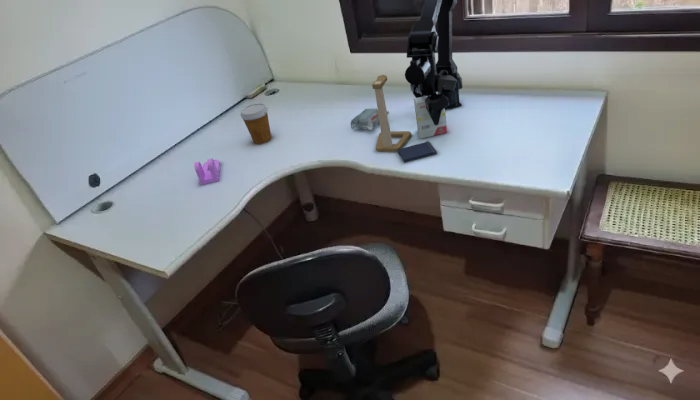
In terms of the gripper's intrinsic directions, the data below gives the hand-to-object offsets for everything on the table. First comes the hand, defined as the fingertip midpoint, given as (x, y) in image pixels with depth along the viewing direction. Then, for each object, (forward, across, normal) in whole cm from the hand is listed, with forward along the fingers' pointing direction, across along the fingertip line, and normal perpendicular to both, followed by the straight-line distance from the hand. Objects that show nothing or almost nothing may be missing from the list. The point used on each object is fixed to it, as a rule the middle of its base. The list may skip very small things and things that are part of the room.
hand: (431, 119), depth 161 cm
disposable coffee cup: (+5, +27, +54) cm, 60 cm away
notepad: (+5, -10, +8) cm, 14 cm away
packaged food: (+5, +16, +16) cm, 24 cm away
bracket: (+5, +12, +72) cm, 73 cm away
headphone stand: (+5, 0, +14) cm, 14 cm away
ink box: (+5, 0, 0) cm, 5 cm away
